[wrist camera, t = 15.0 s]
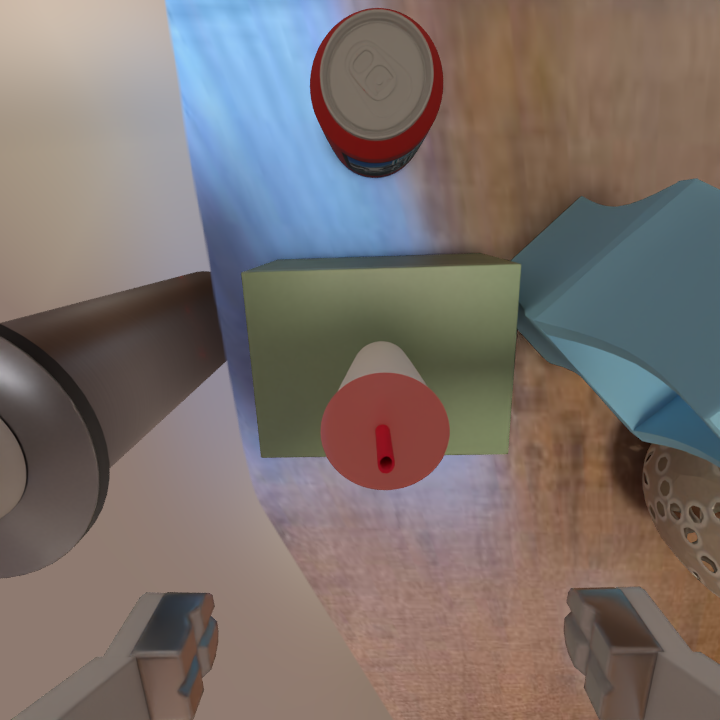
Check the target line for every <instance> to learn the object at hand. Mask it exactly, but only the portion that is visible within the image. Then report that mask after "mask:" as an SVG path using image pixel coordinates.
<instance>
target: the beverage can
mask: <svg viewBox="0 0 720 720" xmlns="http://www.w3.org/2000/svg"><path fill="white" fill-rule="evenodd" d="M310 93H311V101H312V105H313V109H314V112H315V115H316V117H317V120H318V122H319V124H320V126H321V128H322V130H323V132H324V134H325V136H326V138H327V140H328V142H329V143H330V145H331V147H332V149H333V150H334V152H335V154H336V155H337V157H338V158H339V160H340V161H341V162H342V163H343V164H344V165H345V166H346V167H347V168H348V169H350V170H351V171H353V172H355V173H357V174H359V175H362V176H365V177H372V178H378V177H384V176H388V175H391V174H393V173H395V172H397V171H399V170H400V169H402V168H403V167H404V166H405V165H406V164H407V163H408V162H409V161H410V160H411V159H412V157H413V156H414V154H415V153H416V152H417V150H418V148H419V147H420V145H421V144H422V142H423V140H424V139H425V137H426V135H427V133H428V131H429V130H430V128H431V126H432V124H433V122H434V120H435V118H436V116H437V113H438V110H439V107H440V104H441V100H442V94H443V72H442V66H441V61H440V58H439V55H438V52H437V50H436V47H435V45H434V43H433V42H432V40H431V38H430V37H429V35H428V34H427V33H426V32H425V30H424V29H423V28H422V27H421V26H420V25H419V24H418V23H416V22H415V21H414V20H413V19H411V18H410V17H408V16H406V15H404V14H402V13H400V12H397V11H394V10H390V9H384V8H371V9H365V10H362V11H358V12H356V13H353V14H351V15H349V16H348V17H346V18H344V19H343V20H342V21H340V22H339V23H338V24H337V25H335V26H334V27H333V28H332V29H331V30H330V32H329V33H328V34H327V35H326V37H325V38H324V40H323V41H322V43H321V45H320V46H319V48H318V51H317V53H316V55H315V58H314V61H313V65H312V70H311V78H310Z"/></svg>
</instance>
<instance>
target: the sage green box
mask: <svg viewBox="0 0 720 720" xmlns="http://www.w3.org/2000/svg"><path fill="white" fill-rule="evenodd" d="M241 276H242V285H243V295H244V304H245V313H246V322H247V331H248V341H249V350H250V359H251V368H252V377H253V387H254V396H255V405H256V414H257V423H258V433H259V442H260V451H261V457H262V458H272V457H327V456H326V454H325V452H324V449H323V446H322V441H321V421H322V417H323V414H324V411H325V409H326V407H327V405H328V403H329V402H330V400H331V399H332V397H333V396H334V395H335V394H336V393H337V392H338V390H339V388H340V386H341V384H342V382H343V380H344V378H345V376H346V374H347V372H348V370H349V368H350V366H351V364H352V363H353V361H354V359H355V357H356V356H357V354H358V353H359V351H360V350H361V349H362V348H363V347H365V346H366V345H368V344H370V343H373V342H378V341H385V342H390V343H393V344H395V345H397V346H398V347H399V348H401V349H402V350H403V352H404V353H405V354H406V356H407V357H408V358H409V360H410V361H411V363H412V364H413V365H414V367H415V368H416V370H417V371H418V373H419V374H420V376H421V377H422V379H423V380H424V382H425V383H426V385H427V387H428V388H430V389H431V390H432V391H433V392H434V393H435V394H436V396H437V397H438V398H439V399H440V401H441V402H442V404H443V406H444V408H445V410H446V413H447V416H448V420H449V426H450V436H449V443H448V446H447V450H446V452H445V454H444V455H483V454H508V446H509V432H510V418H511V404H512V390H513V376H514V362H515V348H516V334H517V320H518V306H519V292H520V278H521V264H520V263H516V262H512V261H509V260H505V259H501V258H497V257H493V256H489V255H485V254H482V253H470V254H438V255H406V256H375V257H343V258H311V259H279V260H275V261H272V262H269V263H266V264H264V265H261V266H258V267H255V268H252V269H249V270H247V271H244V272H242V273H241Z"/></svg>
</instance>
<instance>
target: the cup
mask: <svg viewBox="0 0 720 720" xmlns="http://www.w3.org/2000/svg"><path fill="white" fill-rule="evenodd" d="M449 436H450V426H449V420H448V416H447V413H446V410H445V408H444V406H443V404H442V402H441V401H440V399H439V398H438V397H437V396H436V394H435V393H434V392H433V391H432V390H431V389H430V388H428V387H427V385H426V383H425V382H424V380H423V379H422V377H421V376H420V374H419V373H418V371H417V370H416V368H415V367H414V365H413V364H412V363H411V361H410V360H409V358H408V357H407V356H406V354H405V353H404V352H403V350H402V349H401V348H399V347H398V346H397V345H395V344H393V343H390V342H385V341H378V342H373V343H370V344H368V345H366V346H365V347H363V348H362V349H361V350H360V351H359V353H358V354H357V356H356V357H355V359H354V361H353V363H352V364H351V366H350V368H349V370H348V372H347V374H346V376H345V378H344V380H343V382H342V384H341V386H340V388H339V390H338V392H337V393H336V394H335V395H334V396H333V397H332V399H331V400H330V402H329V403H328V405H327V407H326V409H325V411H324V414H323V417H322V421H321V441H322V446H323V449H324V452H325V454H326V456H327V458H328V460H329V461H330V463H331V464H332V465H333V467H334V468H335V469H336V470H337V471H338V472H339V473H340V474H341V475H343V476H344V477H345V478H347V479H348V480H350V481H352V482H354V483H356V484H358V485H360V486H363V487H366V488H371V489H377V490H393V489H399V488H404V487H407V486H410V485H412V484H414V483H417V482H418V481H420V480H422V479H423V478H425V477H426V476H427V475H429V474H430V473H431V472H432V471H433V470H434V469H435V468H436V467H437V466H438V464H439V463H440V461H441V460H442V458H443V456H444V454H445V452H446V450H447V446H448V443H449Z"/></svg>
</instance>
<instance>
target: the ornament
mask: <svg viewBox="0 0 720 720" xmlns="http://www.w3.org/2000/svg"><path fill="white" fill-rule="evenodd" d="M649 455H651V457H650V458H649V460H648V461H647V462H646V460H647V457H648V456H649ZM644 473H645V477H646V480H647V484H648V485H647V484H646V483H645V482H644ZM642 482H643V492H644V497H645V502H646V505H647V507H648V510H649V512H650V514H651V518H652V520H653V523H654V525H655V527H656V529H657V530H658V532H659V534H660V536H661V537H662V539H663V540H664V541H665V542H666V544H667V545H668V546H669V548H670V549H671V550H672V551H673V553H674V554H675V555H676V557H677V558H678V559H679V560H680V561H681V562H682V563H683V564H684V566H685V567H686V568H687V569H688V570H689V571H690V572H691V573H692V574H693V575H694V576H695V577H696V578H697V579H698V578H699V579H700V580H701V581H700V580H699V579H698V580H699V581H700V582H701V583H702V584H704V585H705V586H706V587H707V588H708V589H709V590H710V591H712V592H713V593H714V594H716V595H717V596H718V597H720V519H718V518H717V517H716V516H715V514H714V513H717V512H720V468H719V467H718V466H716V465H714V464H713V463H711V462H709V461H707V460H705V459H703V458H700V457H698V456H695V455H693V454H690V453H688V452H685V451H682V450H679V449H675V448H672V447H668V446H664V445H659V444H654V443H652V444H651V446H650V447H649V449H648V452H647V455H646V458H645V461H644V467H643V476H642ZM693 505H694V506H697V507H699V508H700V519H699V518H698V517H697V516H696V515H695V514H694V513H693V511H692V509H691V506H693ZM673 511H677V512H680V513H681V518H680V519H679V518H678V517H677V516H676V515H675V514H674V512H673ZM693 532H696V534H697V536H698V539H697V541H695V542H693V543H690V542H689V541H688V540H687V534H688V533H693ZM701 560H703V561H706V562H707V563H709V564H711V566H712V567H713V569H714V572H711V571H710V570H709V569H708V568H706V567H705V566H704V564H703V563H702V561H701Z"/></svg>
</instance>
